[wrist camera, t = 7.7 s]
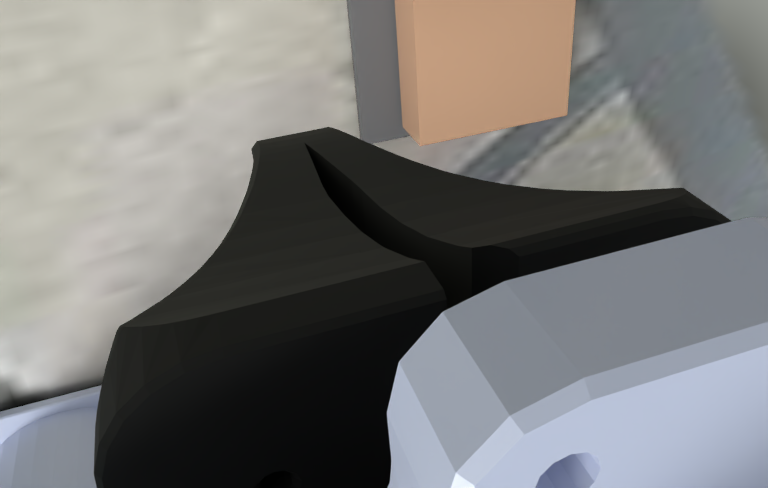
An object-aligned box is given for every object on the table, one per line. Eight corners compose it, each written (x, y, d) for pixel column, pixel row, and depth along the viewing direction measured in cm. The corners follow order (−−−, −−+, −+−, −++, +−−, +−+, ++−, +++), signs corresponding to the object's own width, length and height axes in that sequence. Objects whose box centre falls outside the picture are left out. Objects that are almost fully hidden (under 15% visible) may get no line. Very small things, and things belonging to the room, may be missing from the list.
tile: (401, 125, 23) (540, 97, 24) (420, 146, 21) (567, 115, 22) (390, -39, 20) (548, -62, 21) (411, -27, 18) (579, -52, 20)
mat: (526, 106, 24) (531, 110, 24) (360, 140, 23) (364, 145, 23) (534, -83, 21) (540, -81, 21) (341, -57, 20) (345, -54, 19)
